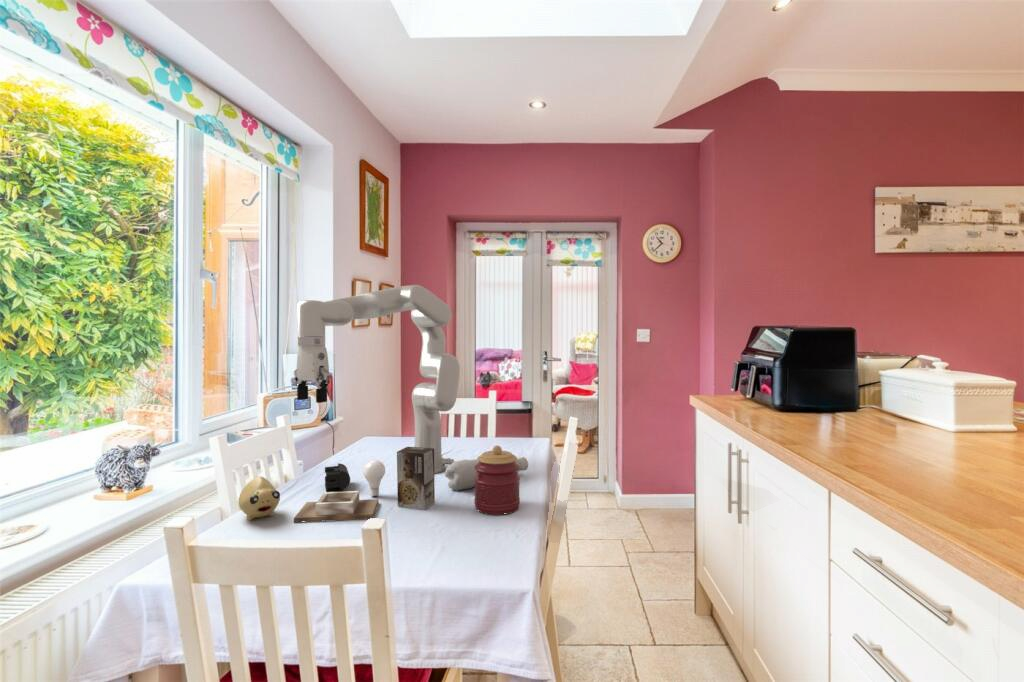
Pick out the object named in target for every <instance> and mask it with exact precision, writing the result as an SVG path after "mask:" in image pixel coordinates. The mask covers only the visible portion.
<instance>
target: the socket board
mask: <svg viewBox="0 0 1024 682" xmlns="http://www.w3.org/2000/svg"><path fill="white" fill-rule="evenodd" d="M379 504H380V503H379V498H373V499H370V498H369V499H360V490H355V491H354V490H353V491H352V490H351V491H350V490H349V491H342V492H326V491H325V492H324V493H323V494H322V495H321V496H320V498H319V499H318V500H317V501H307V502H306V503H304V505H303V506H301V507H302V508H300V510H299V511H298V512H297V513H296V515H295V516H294V517H293V523H294V522H297V523H303V522H302V521H317V522H323V521H322V520H325V521H324V522H327V521H326V520H337V521H352V520H353V521H354V520H355V521H356V520H370V519H369V518H372V517H373V518H374V516H375V513H376V510H377V508H378V506H379ZM365 518H366V519H365ZM373 518H372V519H373Z"/></svg>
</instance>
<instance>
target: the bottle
mask: <svg viewBox="0 0 1024 682" xmlns="http://www.w3.org/2000/svg"><path fill="white" fill-rule="evenodd" d="M478 462H479V461H478V460H477V458H475V459H461V460H454V462H453V463H452V464H451V465H449V464H448V466H446V469H445V470H444V476H445V477H446V478H447V479H448V480H449V481H448V483H447V486H448V488H450V489H451V490H452V491H455V492H457V491H456V490H458V491H462V489H463V490H467V489H471V488H473V487H474V488H475V480H474V478H475V476H476V470H475V468H474V466H475V465H476V464H477V463H478ZM516 463H518V464H519V465H520V468H519V470H518V472H521V471H523V472H524V471H527V470H528V467H529V461H528V459H527V458H526V457H523V456H522V457H520V458H517V460H516Z"/></svg>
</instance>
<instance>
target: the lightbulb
mask: <svg viewBox="0 0 1024 682" xmlns="http://www.w3.org/2000/svg"><path fill="white" fill-rule="evenodd" d="M362 473H363V476H364V478H365V480H366V481H367V482H368V483H367V484H368V487H369V495H370V496H371V497H373V498H376V497H377V496H379V495H380V486H381V482H382V479H383V478H384V476H385V474H386V467H385V465H384V463H383V462H382V461H380V460H376V459H374V460H370V461H368V462H367V463H366V464H365V465H364V467H363V472H362Z"/></svg>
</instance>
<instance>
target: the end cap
mask: <svg viewBox="0 0 1024 682" xmlns="http://www.w3.org/2000/svg"><path fill="white" fill-rule="evenodd" d="M324 474H325V476H324V483H325V484H324V488H325V492H344V491H345V490H346V489H347V488H348V487H349V485H350V484H351V476H350V474H349V470H348V467H347V466H346V465H345V464H343V463H337V465H333V466H326V467H324Z"/></svg>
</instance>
